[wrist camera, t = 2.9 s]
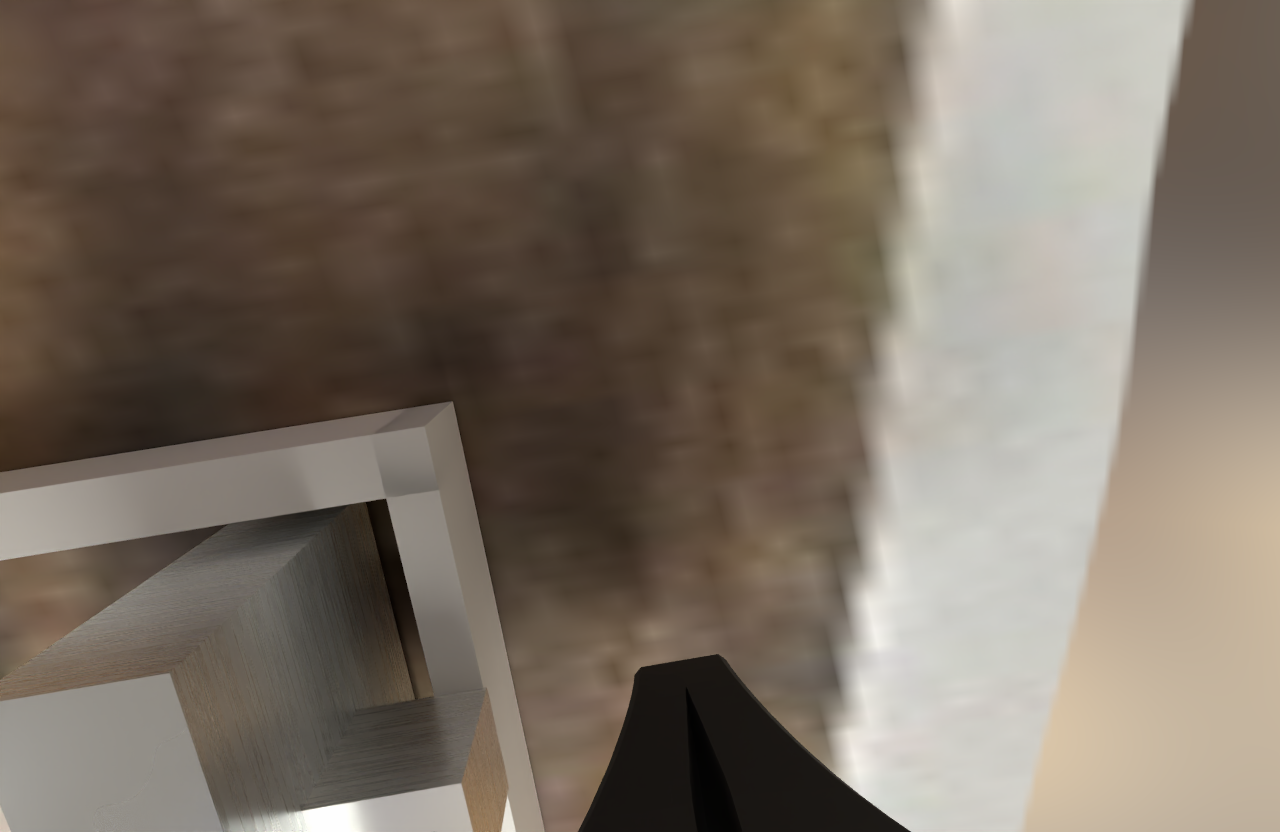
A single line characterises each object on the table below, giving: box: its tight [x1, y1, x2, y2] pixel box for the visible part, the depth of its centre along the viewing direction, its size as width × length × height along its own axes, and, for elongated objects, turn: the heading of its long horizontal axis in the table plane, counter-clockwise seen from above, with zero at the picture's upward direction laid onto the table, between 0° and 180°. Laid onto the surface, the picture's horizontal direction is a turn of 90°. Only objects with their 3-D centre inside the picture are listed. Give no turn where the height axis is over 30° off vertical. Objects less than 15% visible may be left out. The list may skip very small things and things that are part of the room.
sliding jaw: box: [0, 502, 509, 832], centre depth 10 cm, size 4×7×6 cm, turn 8°
